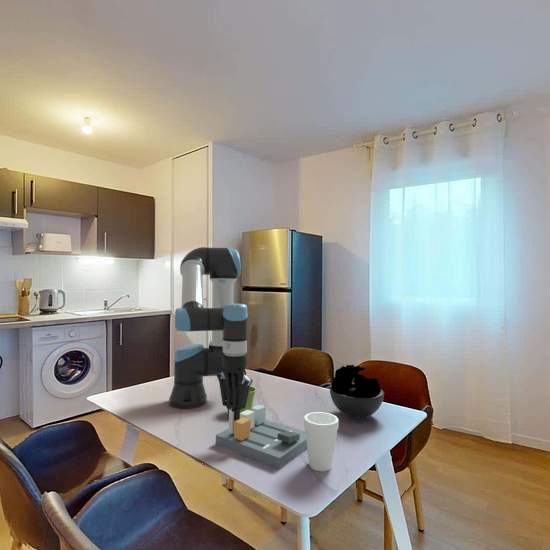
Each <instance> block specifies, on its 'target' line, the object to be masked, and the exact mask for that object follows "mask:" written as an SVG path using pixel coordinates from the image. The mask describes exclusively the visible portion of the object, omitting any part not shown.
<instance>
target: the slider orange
mask: <svg viewBox="0 0 550 550" xmlns="http://www.w3.org/2000/svg"><path fill="white" fill-rule="evenodd" d="M248 437H250V419H246V418H241V419H239V420H236V421H234V438H235V439H238V440H241V441H242V440H244V439H246V438H248Z"/></svg>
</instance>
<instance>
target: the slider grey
mask: <svg viewBox="0 0 550 550" xmlns="http://www.w3.org/2000/svg"><path fill="white" fill-rule="evenodd" d="M266 408H267V407H266V405H265V406H264V405H261V404H256V405H255V406H252V408H251V411H254V412H255V419H254V424H256V425H259V424H261V423H263V422H265V420H266V412H267V410H266Z"/></svg>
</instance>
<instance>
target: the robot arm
mask: <svg viewBox="0 0 550 550" xmlns="http://www.w3.org/2000/svg"><path fill="white" fill-rule="evenodd" d="M241 264H242V263H241V257H240V253H239V251H238V250H237V248H230V247H205V246H202V247H201V246H200V247H196V248H194V249H192V250H191V251H189V252H188V253H187V254H186V255H185V256H184V257H183V259H182V260H181V262H180V266H179V267H180V268H179V271H180V275H181V276H182V282H181V285H182V286H181V307H179V308H176V309H175V311H174V329H175V331H178V332H208V331H209V332H212V335H211V336H212V339H211V341H209V342H208V347H205V346H204V345H203V344H201V343H198V344H197V343H196V344H195V343H194V344H188V345H184V346H181V347H178V348H177V349H176V350H175V352H174V360H173V362H174V370H173V371H174V374H173V375H174V377H173V387H172V390H171V393H170V396H169V400H168V401H169V403H168V404H169V406H170V407H172V408H176V409H194V408H195V409H196V408H198V407H202V406H204V405H205V404H207V401H208V400H207V399H208V395H207V393H206V390H205V386H204V377H216V378H217V379H218V383H219V391H220V397H221V404H222V406H224V407H226V409H227V420H228V429H229V432H234V421H236V420H239V419H240V410H241V409H243V408H245V407H246V402H247V397H248V393H249V388H250V386H251V385H252V383H253V378H249V376H247V372H246V367H247V364H248V362H247V361H248V360H247V357H248V355H247V352H248V317H249V314H248V306H247V305H246V304H244V303H234V283H236V281H237V280H238V276H240V275H241V274H242V265H241ZM203 275H205V276H209V280H210V282H212V284H213V285H212V287H213V288H212V307H207V308H206V307H204V286H203ZM241 387H242V388H241Z"/></svg>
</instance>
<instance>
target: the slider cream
mask: <svg viewBox="0 0 550 550" xmlns="http://www.w3.org/2000/svg"><path fill="white" fill-rule="evenodd" d="M241 418H246V419H250V429H252V428H254V419H255V412H254V411H250V410H246V411H243V412H241V413H240V419H241Z"/></svg>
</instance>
